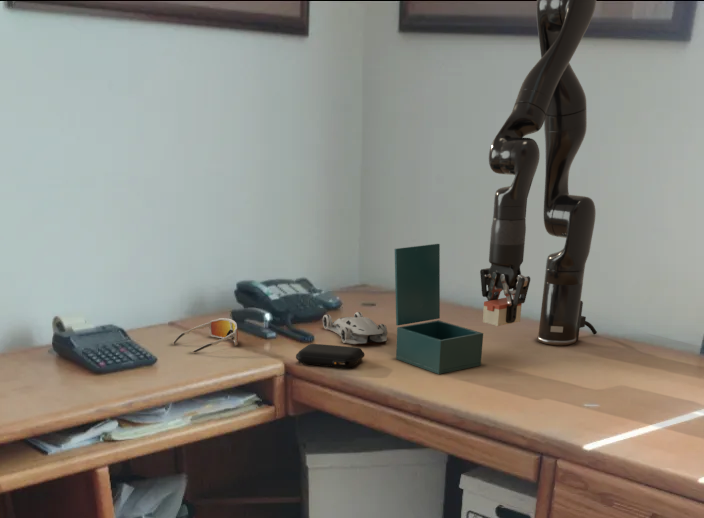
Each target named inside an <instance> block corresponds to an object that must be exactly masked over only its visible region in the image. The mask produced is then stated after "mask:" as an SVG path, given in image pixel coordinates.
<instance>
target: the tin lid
mask: <svg viewBox="0 0 704 518" xmlns="http://www.w3.org/2000/svg"><path fill="white" fill-rule="evenodd" d="M440 246H441V244H440V243H432V244H424V245H423V244H422V245H414V246H407V247H398V248H394V280H395V281H394V283H395V285H394V286H395V287H394V288H395V325H396V326H405V325H411V324H417V323H423V322H429V321H435V320H439V319H440V318H441V307H440V306H441V301H440V300H441V295H440V294H441V293H440V292H441V289H440V287H441V283H440V281H441V280H440V275H441V271H440V269H441V268H440V267H441V266H440V265H441V261H440V260H441V258H440V253H441V251H440V249H441V247H440Z"/></svg>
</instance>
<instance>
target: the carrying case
mask: <svg viewBox="0 0 704 518" xmlns="http://www.w3.org/2000/svg"><path fill="white" fill-rule="evenodd" d="M365 355H366V354H365V352H364V350H362V348H361V347H356V346H355V347H354V346H344V345H343V346H342V345H333V344H323V343H321V344H320V343H310V344H307V345H306V346H305V347H303V348H301V349H300V350H299V351H298V352H297V353H296V354H295V359H296V360H297V361H298V363H300V364H304V365H311V366H312V365H313V366H324V367H334V368H344V369H345V368H346V369H347V368H348V369H349V368H353V367H355V366H356V365H357V364H359V362H361V361H362V359H363V358H365Z"/></svg>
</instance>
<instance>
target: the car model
mask: <svg viewBox="0 0 704 518" xmlns="http://www.w3.org/2000/svg"><path fill="white" fill-rule="evenodd" d="M332 318H333V317H332V316H331V315H330V314H324V315H323V317H322V325H323V329H325V330H327V331H331V332H334V333H335V334H337V335H338V336H340V339H341V342H342V343H344V344H350V345H366V344H367V343H374V344H375V343H376V344H381V343H386V342H387V341H388V338H387V337H388V328H387V326H386V324H384V323H380V324H376V322H375V321H374V320H373V319H371V318H370V317H367V316H364V315H363V313H362V312H361V311H356V312H355V313H354V314H353V316H343V317H339V318H337V319H336V320H334V321H333V319H332Z"/></svg>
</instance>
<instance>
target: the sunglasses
mask: <svg viewBox="0 0 704 518" xmlns="http://www.w3.org/2000/svg"><path fill="white" fill-rule="evenodd" d="M206 328H208V330H209V335H210V337H212V338H217V339H218V340H215V341H212V342H208V343H206V344H204V345H201V346H199V347H197V348H195V349H194V350H192V351H191V353H192V354H195V353H198V352H200V351H202V350H204V349H206V348H209V347H211V346H216V345H219V344H220V343H222V342H224V341H226V340H227V341H228V340H233V342H234V346H238V341H239V332H238V331H239V330H238V324H237V322H236V321H235V320H233V319H231V318H228V317H227V318H226V317H221V318H220V317H219V318H217V319H213V320H209V321H208V322H206V323H203V324H200V325H197V326H195V327H193V328H190V329H187V330H185V331H183V332H181V333H180V334H179V335H178V336H176V338H175V339H174V340H173V341H172V345H175V344H176V343H177V342H178V341H179V340H180V339H181V338H182V337H183V336H185V335H189V334H190V333H192V332H193V331H196V330H203V329H206Z"/></svg>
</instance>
